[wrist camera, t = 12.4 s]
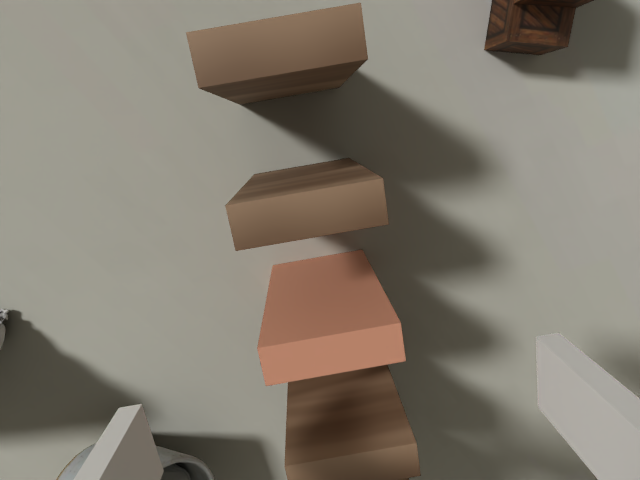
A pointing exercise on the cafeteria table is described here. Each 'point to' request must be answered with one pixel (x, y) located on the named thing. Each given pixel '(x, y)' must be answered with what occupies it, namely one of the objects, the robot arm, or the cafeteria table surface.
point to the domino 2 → (306, 203)
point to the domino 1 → (280, 54)
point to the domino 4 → (348, 428)
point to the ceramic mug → (179, 469)
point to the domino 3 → (327, 320)
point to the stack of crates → (530, 25)
